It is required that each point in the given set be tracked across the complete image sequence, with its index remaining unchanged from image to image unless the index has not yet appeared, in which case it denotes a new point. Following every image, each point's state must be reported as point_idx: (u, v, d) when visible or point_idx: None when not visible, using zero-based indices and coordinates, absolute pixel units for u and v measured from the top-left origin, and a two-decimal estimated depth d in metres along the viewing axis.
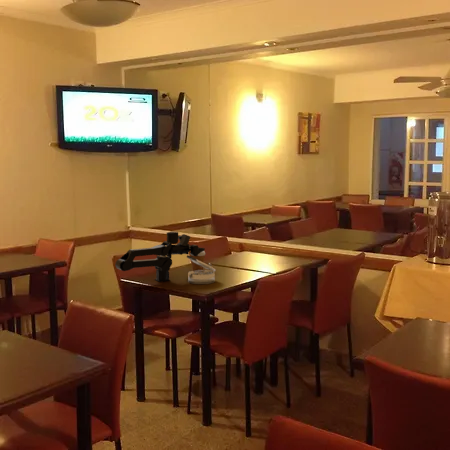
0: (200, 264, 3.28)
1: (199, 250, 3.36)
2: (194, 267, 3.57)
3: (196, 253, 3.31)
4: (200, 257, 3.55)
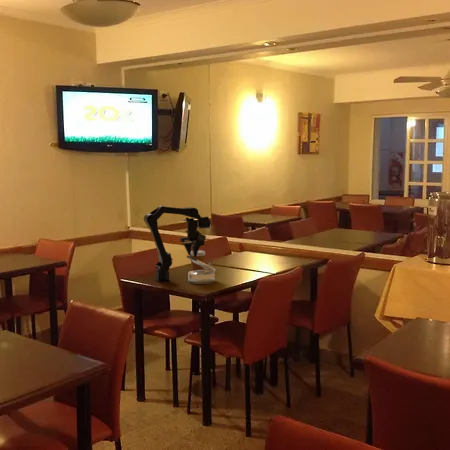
0: (200, 264, 3.28)
1: (195, 249, 3.32)
2: (194, 267, 3.57)
3: (198, 243, 3.27)
4: (200, 257, 3.55)
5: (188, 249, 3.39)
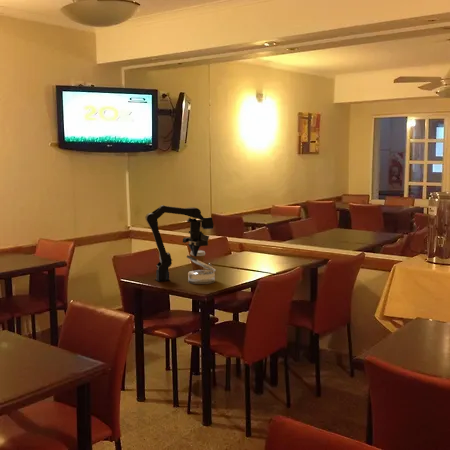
0: (200, 264, 3.28)
1: (195, 249, 3.33)
2: (194, 267, 3.57)
3: (201, 244, 3.25)
4: (200, 257, 3.55)
5: None
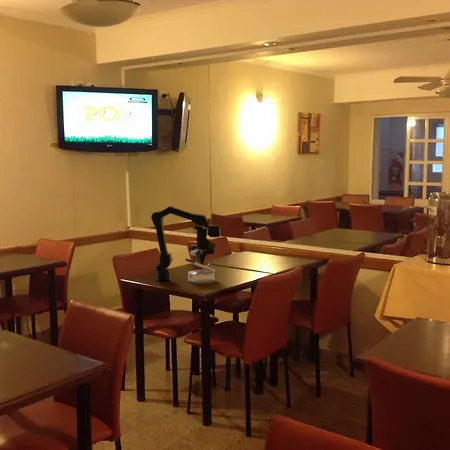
0: None
1: (202, 257, 3.26)
2: (194, 267, 3.57)
3: (208, 252, 3.19)
4: None
5: None
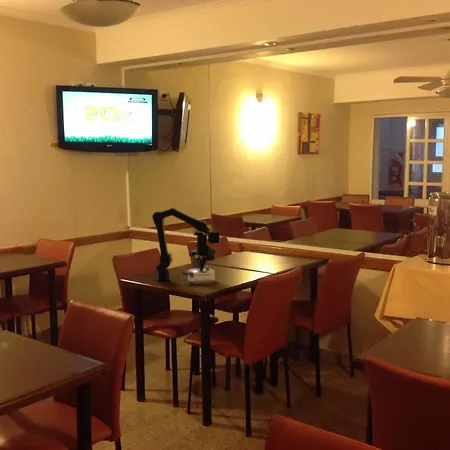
0: None
1: (202, 263, 3.27)
2: (194, 267, 3.57)
3: (208, 258, 3.19)
4: None
5: None
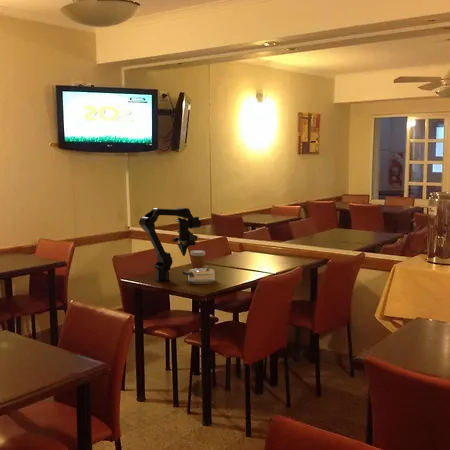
0: None
1: (184, 249, 3.37)
2: (194, 267, 3.57)
3: (189, 244, 3.29)
4: (200, 257, 3.55)
5: None
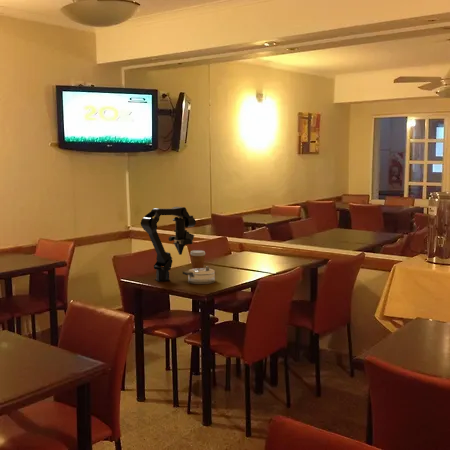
0: None
1: (180, 247, 3.39)
2: (194, 267, 3.57)
3: (186, 242, 3.31)
4: (200, 257, 3.55)
5: None
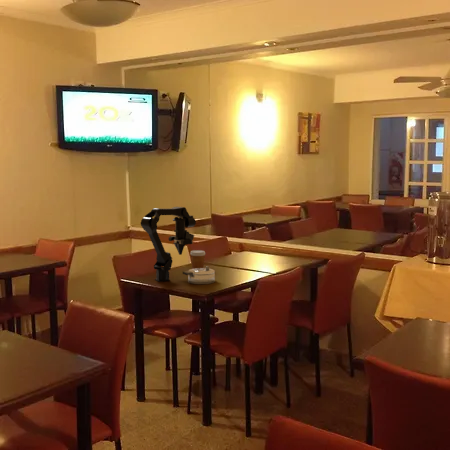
0: None
1: (180, 247, 3.39)
2: (194, 267, 3.57)
3: (186, 242, 3.31)
4: (200, 257, 3.55)
5: None
